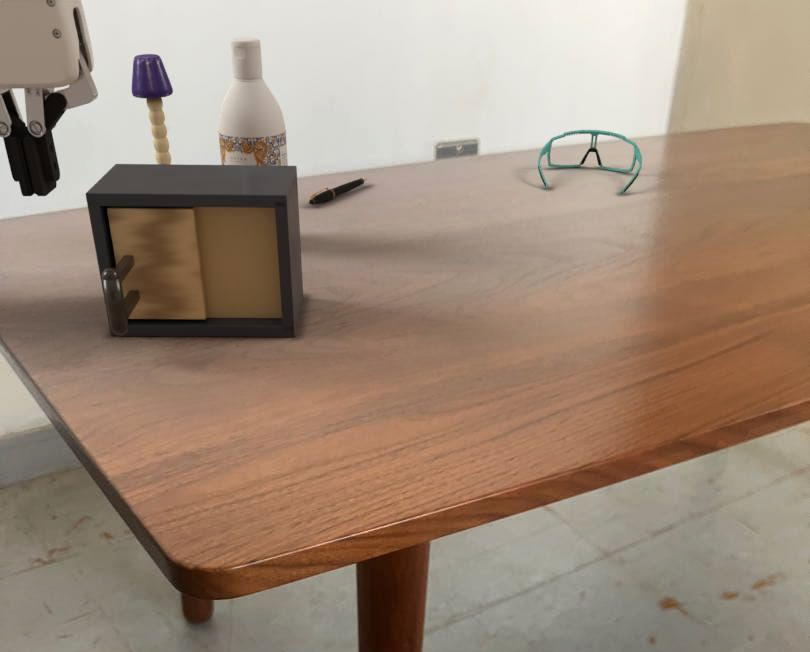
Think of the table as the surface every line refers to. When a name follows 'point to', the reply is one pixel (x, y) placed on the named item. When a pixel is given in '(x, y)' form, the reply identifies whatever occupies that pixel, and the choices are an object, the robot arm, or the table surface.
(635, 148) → the sunglasses
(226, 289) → the cupboard
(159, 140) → the toy lamp
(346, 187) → the fountain pen
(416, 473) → the table surface
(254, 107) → the bath foam
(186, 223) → the sliding door
